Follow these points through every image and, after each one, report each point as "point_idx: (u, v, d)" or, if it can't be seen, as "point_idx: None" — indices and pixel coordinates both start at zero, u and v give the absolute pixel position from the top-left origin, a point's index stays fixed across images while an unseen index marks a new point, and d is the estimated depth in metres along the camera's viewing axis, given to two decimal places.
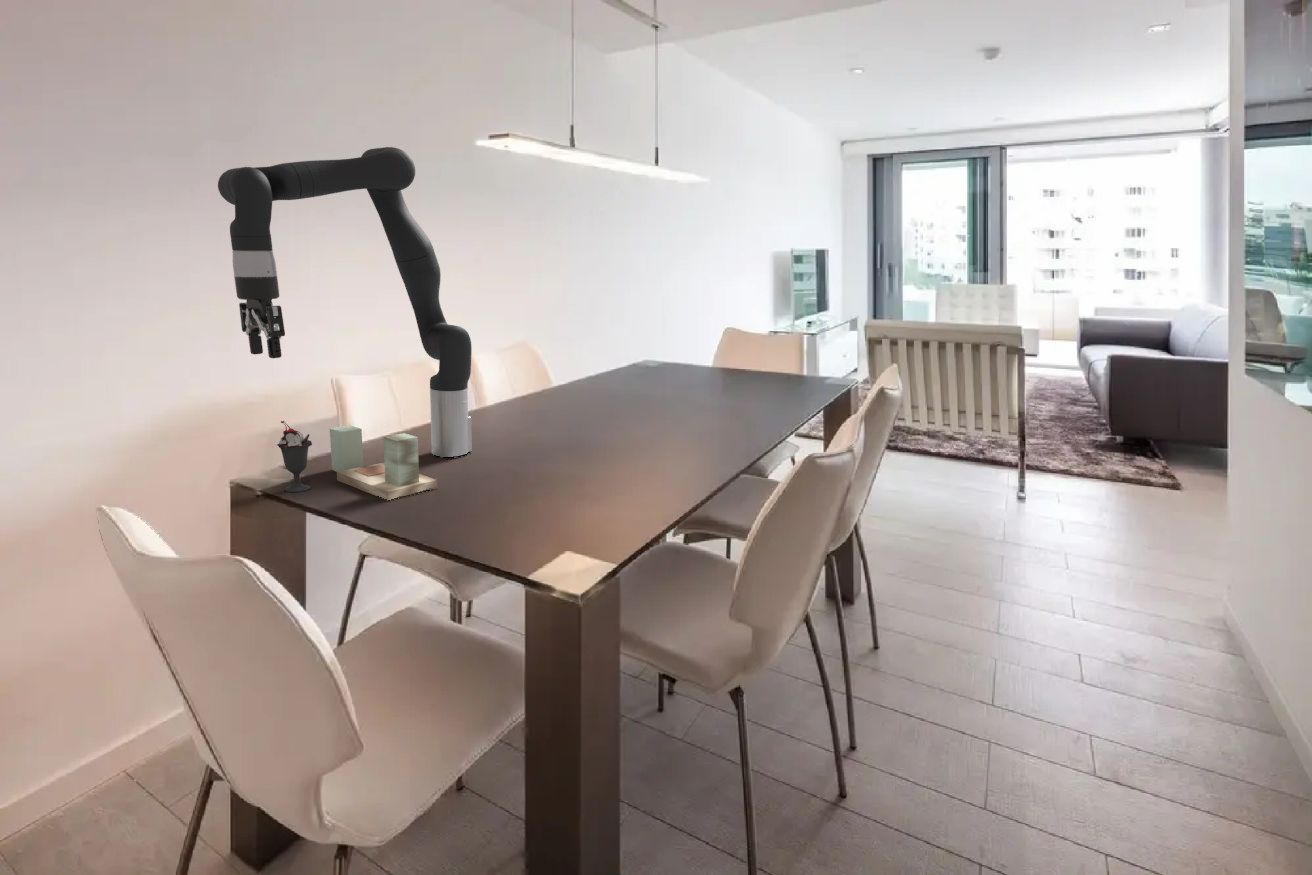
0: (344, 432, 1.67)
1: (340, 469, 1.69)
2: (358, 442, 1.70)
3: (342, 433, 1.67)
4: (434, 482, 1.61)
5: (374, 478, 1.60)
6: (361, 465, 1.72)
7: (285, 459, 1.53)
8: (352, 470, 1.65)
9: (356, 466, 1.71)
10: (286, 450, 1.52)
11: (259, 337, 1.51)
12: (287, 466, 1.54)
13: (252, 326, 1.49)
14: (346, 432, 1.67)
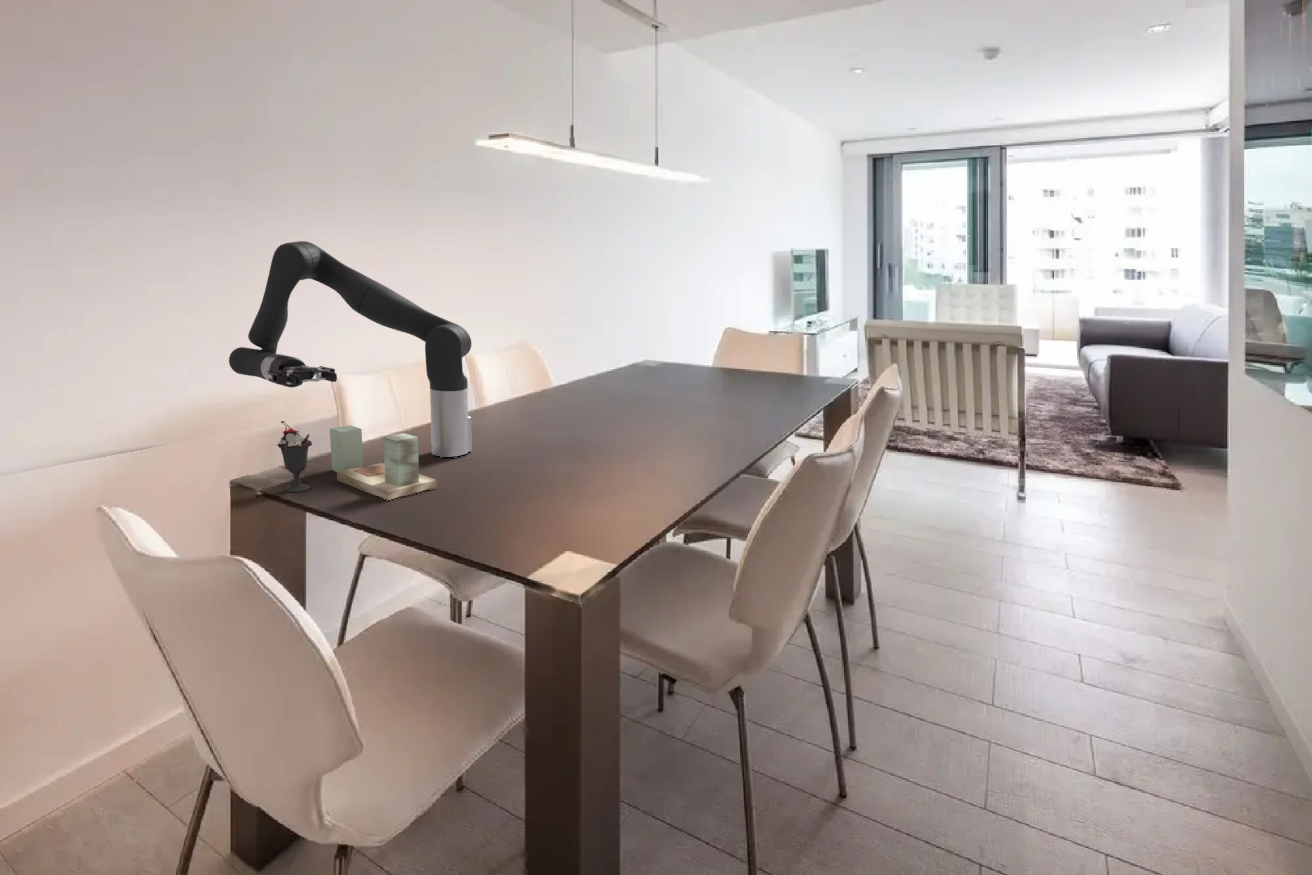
0: (344, 432, 1.67)
1: (340, 469, 1.69)
2: (358, 442, 1.70)
3: (342, 433, 1.67)
4: (434, 482, 1.61)
5: (374, 478, 1.60)
6: (361, 465, 1.72)
7: (285, 459, 1.53)
8: (352, 470, 1.65)
9: (356, 466, 1.71)
10: (286, 450, 1.52)
11: (325, 372, 1.78)
12: (287, 466, 1.54)
13: (317, 377, 1.79)
14: (346, 432, 1.67)
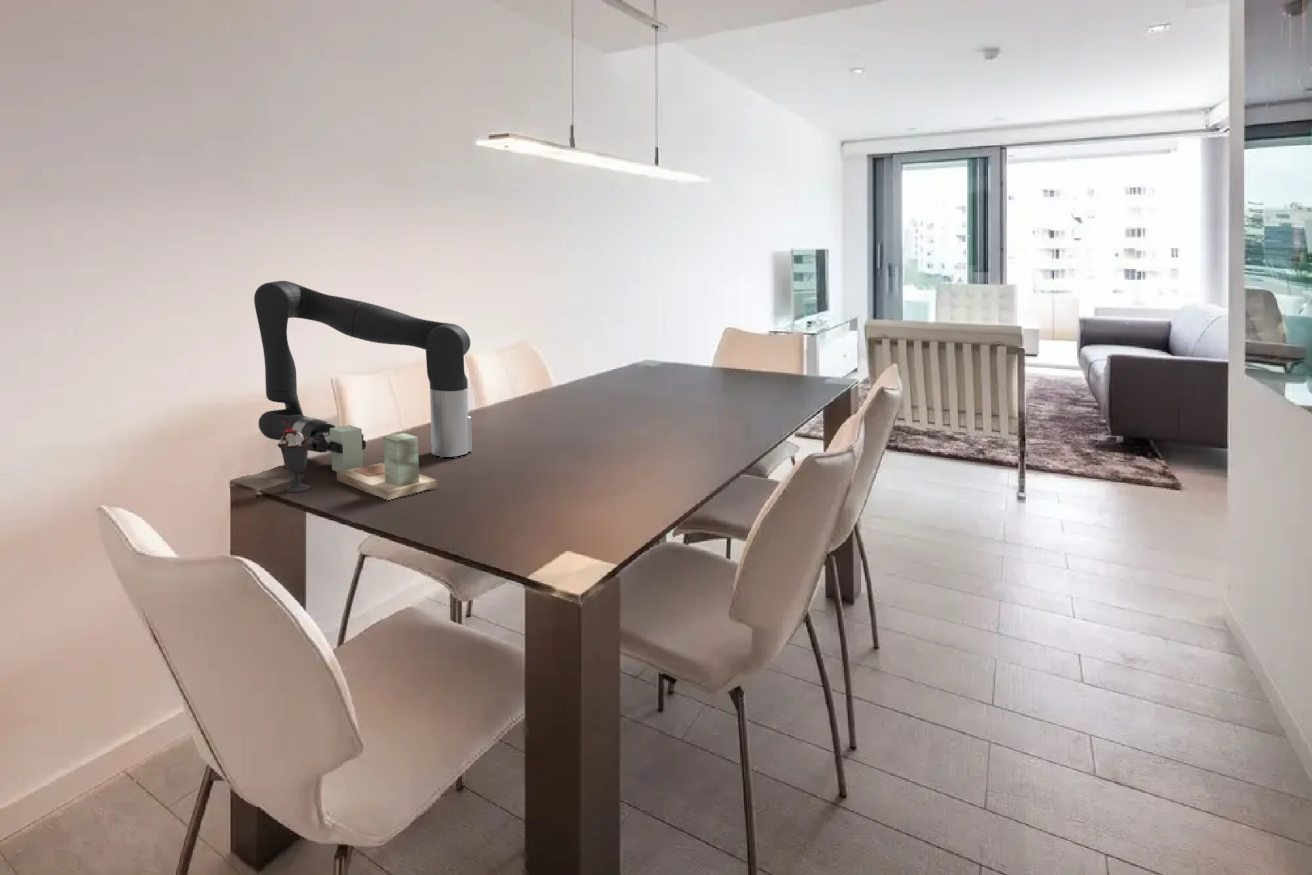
0: (344, 432, 1.67)
1: (340, 469, 1.69)
2: (358, 442, 1.70)
3: (342, 433, 1.67)
4: (434, 482, 1.61)
5: (374, 478, 1.60)
6: (361, 465, 1.72)
7: (285, 459, 1.53)
8: (352, 470, 1.65)
9: (356, 466, 1.71)
10: (286, 450, 1.52)
11: None
12: (287, 466, 1.54)
13: None
14: (346, 432, 1.67)
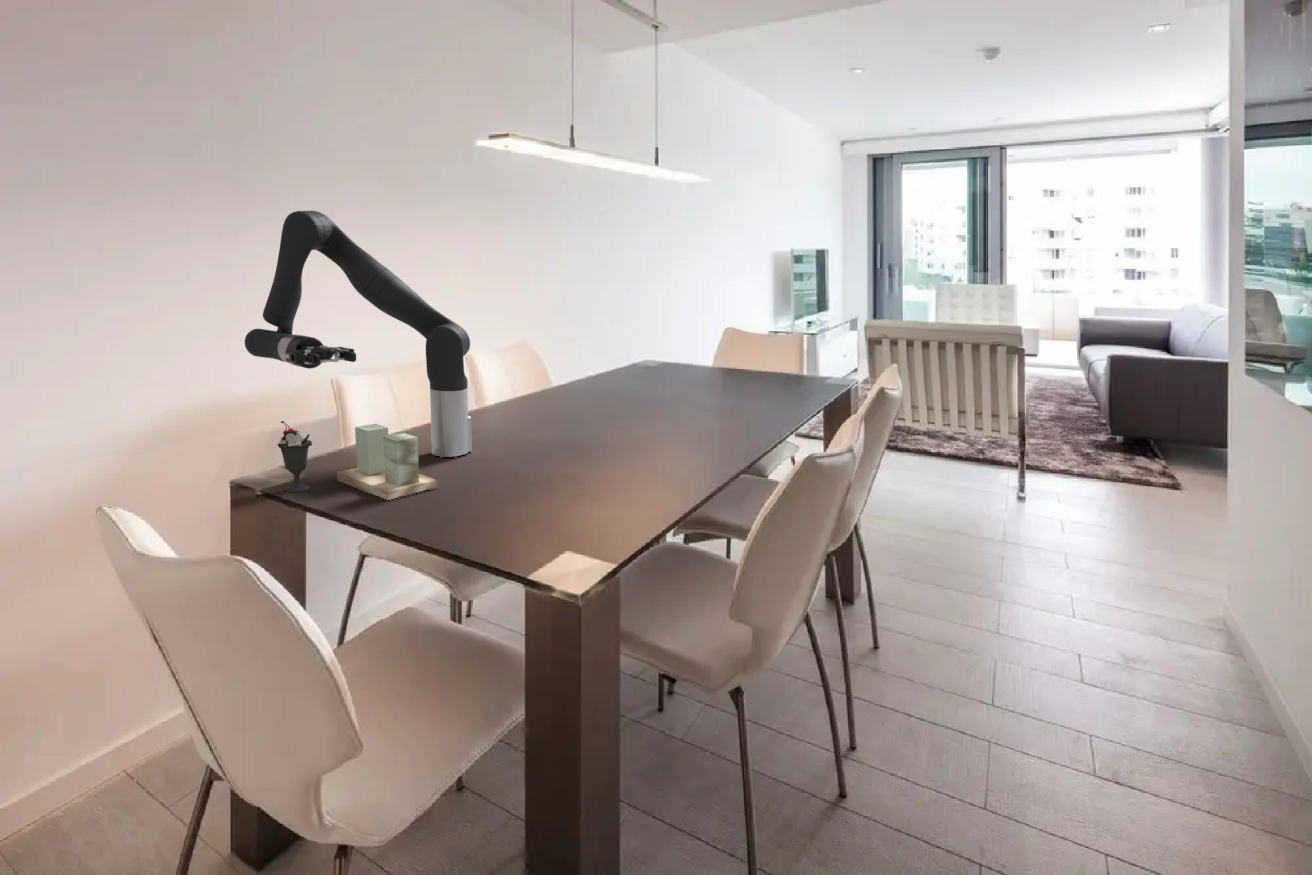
0: (370, 431, 1.60)
1: (366, 469, 1.62)
2: None
3: (368, 432, 1.60)
4: (434, 482, 1.61)
5: (374, 478, 1.60)
6: None
7: (285, 459, 1.53)
8: (352, 470, 1.65)
9: (382, 466, 1.64)
10: (286, 450, 1.52)
11: (344, 352, 1.72)
12: (287, 466, 1.54)
13: (335, 357, 1.73)
14: (372, 431, 1.60)
